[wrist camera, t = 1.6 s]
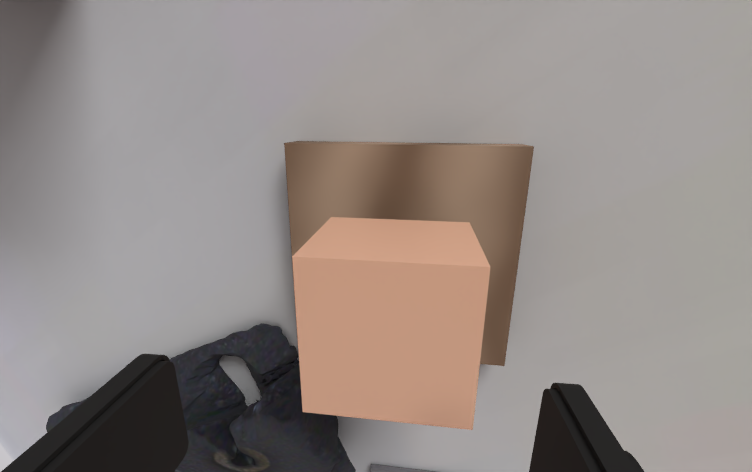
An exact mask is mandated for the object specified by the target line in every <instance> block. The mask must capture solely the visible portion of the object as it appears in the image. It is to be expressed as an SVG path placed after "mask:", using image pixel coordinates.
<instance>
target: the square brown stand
mask: <svg viewBox="0 0 752 472" xmlns="http://www.w3.org/2000/svg"><path fill="white" fill-rule="evenodd" d="M284 145H285V160H286V175H287V190H288V205H289V219H290V234H291V249H292V256H293V255H294V254H295V253H296V252H297V251H298V250H299V249H300V248H301V247H302V246H303V245H304V244H305V243H306V242H307V241H308V240H309V239H310V238H311V237H312V236H313V235H314V234H315V233H316V232H317V231H318V230H319V229H320V228H321V227H322V226H323V225H324V224H325V223H326V222H327V221H328V220H329V219H330V218H331V217H344V218H370V219H396V220H421V221H447V222H470V224H471V226H472V229H473V231H474V233H475V235H476V237H477V239H478V241H479V243H480V246H481V248H482V250H483V252H484V254H485V256H486V258H487V261H488V263H489V265H490V267H491V268H490V277H489V286H488V295H487V304H486V313H485V322H484V331H483V340H482V349H481V358H480V364H488V365H500V366H504V364H505V357H506V349H507V342H508V334H509V327H510V320H511V312H512V305H513V297H514V290H515V282H516V275H517V268H518V260H519V253H520V245H521V238H522V231H523V223H524V216H525V208H526V201H527V194H528V186H529V179H530V171H531V164H532V157H533V149H534V147H533V146H528V145H523V144H463V143H389V142H316V141H296V142H289V143H284ZM292 264H293V261H292ZM293 279H294V276H293ZM294 294H295V291H294ZM295 309H296V305H295ZM296 324H297V320H296ZM297 338H298V335H297Z"/></svg>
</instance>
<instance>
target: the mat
mask: <svg viewBox="0 0 752 472" xmlns="http://www.w3.org/2000/svg"><path fill="white" fill-rule="evenodd" d="M371 472H434V471H425V470H417V469H408V468H400V467H391V466H383V465H375V464H371Z"/></svg>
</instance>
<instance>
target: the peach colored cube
mask: <svg viewBox="0 0 752 472" xmlns="http://www.w3.org/2000/svg"><path fill="white" fill-rule="evenodd" d="M292 261H293V276H294V291H295V305H296V320H297V335H298V350H299V365H300V380H301V395H302V410H303V412H307V413H317V414H326V415H336V416H345V417H355V418H364V419H374V420H383V421H393V422H403V423H412V424H422V425H431V426H441V427H450V428H460V429H469V430H473V421H474V412H475V403H476V394H477V385H478V376H479V367H480V358H481V349H482V340H483V331H484V322H485V313H486V304H487V295H488V286H489V277H490V268H491V267H490V265H489V263H488V261H487V258H486V256H485V254H484V252H483V250H482V248H481V246H480V243H479V241H478V239H477V237H476V235H475V233H474V231H473V229H472V226H471V224H470V222H447V221H421V220H396V219H370V218H344V217H331V218H330V219H329V220H328V221H327V222H326V223H325V224H324V225H323V226H322V227H321V228H320V229H319V230H318V231H317V232H316V233H315V234H314V235H313V236H312V237H311V238H310V239H309V240H308V241H307V242H306V243H305V244H304V245H303V246H302V247H301V248H300V249H299V250H298V251H297V252H296V253H295V254H294V255H293V256H292Z"/></svg>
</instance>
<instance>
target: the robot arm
mask: <svg viewBox="0 0 752 472" xmlns="http://www.w3.org/2000/svg"><path fill="white" fill-rule="evenodd" d="M188 445H189V440H188V435H187V430H186V424H185V419H184V414H183V409H182V403H181V398H180V393H179V387H178V382H177V377H176V371H175V366H174V364H173V363H172V362H170V360H169V358H168V357H167V356H165V355H154V354H141V355H140V356H138V357H137V358H135V359H134V360H133V361H132V362H131V363H130V364H128V365H127V366H126V367H125V368H124V369H122V370H121V371H120V372H119V373H118V374H116V375H115V376H114V377H113V378H112V379H111V380H109V381H108V382H107V383H106V384H105V385H103V386H102V387H101V388H100V389H99V390H98V391H96V392H95V393H94V394H93V395H92V396H90V397H89V398H88V399H87V400H86V401H84V402H83V403H82V404H81V405H80V406H79V407H77V408H76V409H75V410H74V411H73V412H71V413H70V414H69V415H68V416H67V417H65V418H64V419H63V420H62V421H61V422H60V423H58V424H57V425H56V426H55V427H54V428H52V429H51V430H50V431H49V432H48V433H46V434H45V435H44V436H43V437H42V438H41V439H39V440H38V441H37V442H36V443H35V444H33V445H32V446H31V447H30V448H29V449H28V450H26V451H25V452H24V453H23V454H22V455H20V456H19V457H18V458H17V459H16V460H14V461H13V462H12V463H11V464H10V465H9V466H8V467H6V468H5V469H4V470H3V471H2V472H175V470H176V469H177V467H178V466H179V464H180V463H181V461H182V460H183V459H184V457H185V455H186V453H187V450H188ZM529 472H644V471H643V469H642V468H641V466H640V465H639V463H638V462H637V461H636V459H635V458H634V457H633V456H632V455H631V454H630V453H628V452H627V451H624V450H623V449H622V447H621V446H620V444H619V442H618V441H617V439H616V438H615V436H614V435H613V433H612V432H611V430H610V429H609V427H608V425H607V424H606V422H605V421H604V419H603V418H602V416H601V415H600V413H599V412H598V410H597V408H596V407H595V405H594V404H593V402H592V401H591V399H590V398H589V396H588V394H587V393H586V391H585V390H584V388H583V387H582V386H581V385H578V384H564V383H553V384H552V386H551V389H545V390H544V392H543V397H542V402H541V408H540V414H539V419H538V425H537V430H536V436H535V442H534V447H533V453H532V459H531V464H530V470H529Z"/></svg>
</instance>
